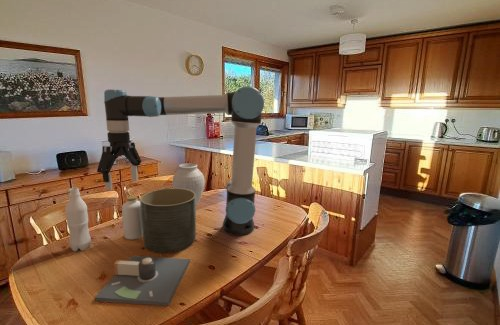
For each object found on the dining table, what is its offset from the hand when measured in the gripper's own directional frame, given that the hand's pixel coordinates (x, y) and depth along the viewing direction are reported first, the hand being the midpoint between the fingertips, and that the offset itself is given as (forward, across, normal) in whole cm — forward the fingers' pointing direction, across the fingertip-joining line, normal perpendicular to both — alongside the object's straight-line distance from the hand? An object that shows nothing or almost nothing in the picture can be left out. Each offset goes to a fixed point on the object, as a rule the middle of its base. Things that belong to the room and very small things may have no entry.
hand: (122, 185), depth 103 cm
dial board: (+26, +16, +23) cm, 38 cm away
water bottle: (+26, +9, -15) cm, 31 cm away
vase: (+26, -45, +3) cm, 52 cm away
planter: (+26, -8, +15) cm, 31 cm away
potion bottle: (+26, -6, -2) cm, 27 cm away
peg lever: (+24, +17, +19) cm, 35 cm away
